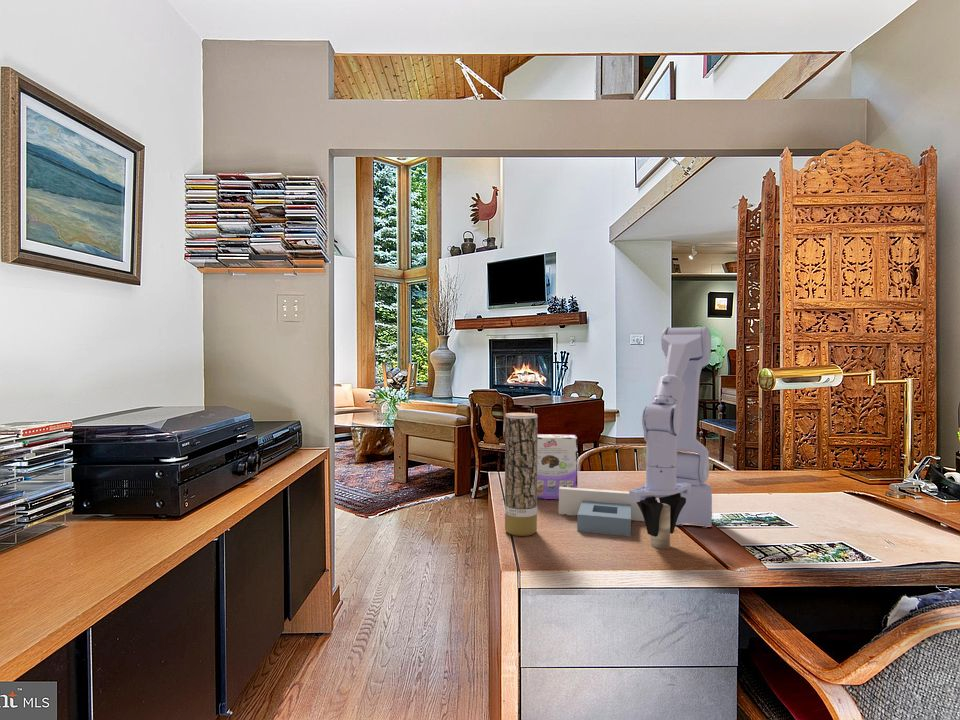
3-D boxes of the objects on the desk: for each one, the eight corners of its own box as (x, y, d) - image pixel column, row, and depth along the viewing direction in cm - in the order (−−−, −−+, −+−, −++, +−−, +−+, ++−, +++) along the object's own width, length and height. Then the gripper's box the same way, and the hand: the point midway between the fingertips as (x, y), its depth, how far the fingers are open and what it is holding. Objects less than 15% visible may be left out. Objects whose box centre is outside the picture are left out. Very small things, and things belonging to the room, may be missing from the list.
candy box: (575, 495, 145) (576, 434, 145) (577, 501, 139) (578, 437, 139) (524, 493, 147) (524, 432, 146) (523, 499, 141) (524, 436, 141)
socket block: (630, 522, 123) (631, 504, 123) (630, 538, 113) (630, 519, 113) (581, 517, 126) (582, 500, 126) (577, 532, 116) (577, 514, 116)
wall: (656, 519, 124) (656, 493, 124) (656, 522, 122) (656, 495, 122) (559, 511, 130) (559, 486, 130) (558, 514, 128) (558, 488, 128)
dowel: (669, 543, 109) (669, 503, 108) (670, 549, 105) (671, 508, 105) (650, 541, 110) (650, 502, 109) (651, 547, 106) (651, 507, 106)
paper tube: (535, 538, 111) (535, 416, 111) (502, 536, 112) (503, 415, 112) (538, 528, 118) (539, 413, 117) (507, 525, 119) (508, 412, 119)
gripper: (672, 458, 114) (672, 522, 114) (618, 464, 107) (618, 532, 108) (699, 464, 108) (699, 532, 108) (644, 471, 101) (643, 543, 101)
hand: (660, 533), depth 107 cm, fingers closed on dowel, 4 cm apart
